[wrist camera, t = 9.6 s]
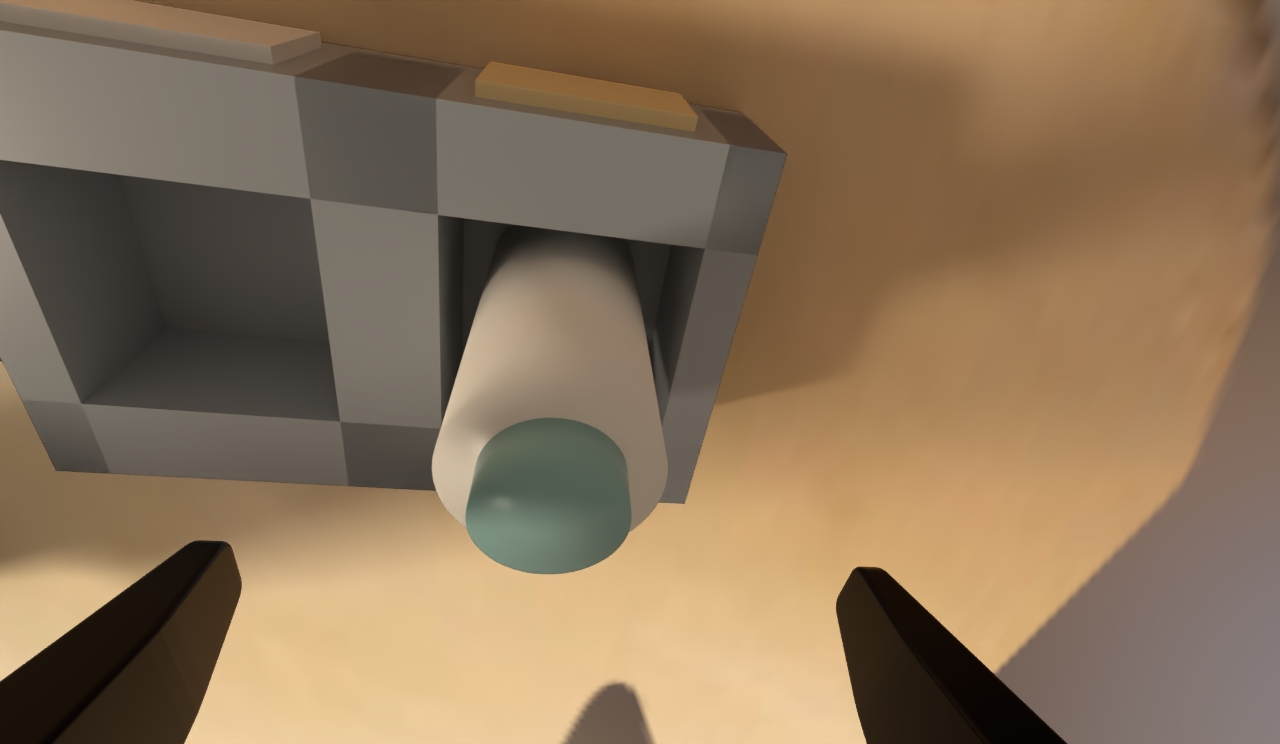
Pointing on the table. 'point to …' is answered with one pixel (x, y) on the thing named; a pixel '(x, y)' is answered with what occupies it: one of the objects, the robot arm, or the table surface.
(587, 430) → the beige and green cylinder
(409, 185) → the socket block
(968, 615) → the table surface
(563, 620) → the table surface
